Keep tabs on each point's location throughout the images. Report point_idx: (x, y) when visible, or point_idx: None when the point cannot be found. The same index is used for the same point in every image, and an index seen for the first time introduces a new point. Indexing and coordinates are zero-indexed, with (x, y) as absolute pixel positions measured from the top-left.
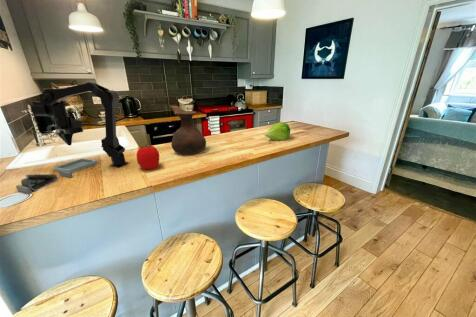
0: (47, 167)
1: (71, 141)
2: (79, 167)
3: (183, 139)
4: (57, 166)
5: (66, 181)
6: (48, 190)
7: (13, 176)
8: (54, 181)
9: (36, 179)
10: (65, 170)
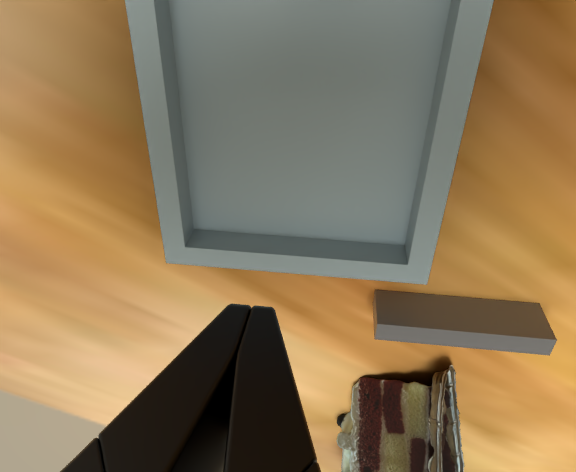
0: (4, 203)
1: (291, 382)
2: (451, 173)
3: None
4: (169, 232)
5: (554, 362)
6: (544, 454)
7: (29, 372)
8: (452, 382)
9: (352, 440)
10: (377, 277)
